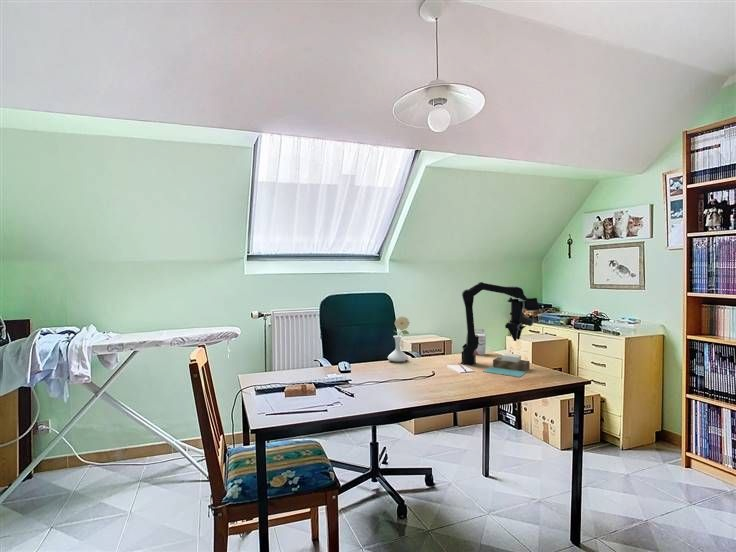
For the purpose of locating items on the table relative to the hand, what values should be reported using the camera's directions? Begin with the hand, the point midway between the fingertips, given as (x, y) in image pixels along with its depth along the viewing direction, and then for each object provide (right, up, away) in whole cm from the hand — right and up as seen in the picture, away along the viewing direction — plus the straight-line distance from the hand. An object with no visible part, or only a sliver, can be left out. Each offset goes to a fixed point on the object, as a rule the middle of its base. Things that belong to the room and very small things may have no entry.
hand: (516, 340), depth 226 cm
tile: (-5, -8, -6) cm, 12 cm away
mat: (-11, -14, -14) cm, 23 cm away
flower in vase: (-61, -14, +12) cm, 64 cm away
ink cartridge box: (-14, -13, +27) cm, 33 cm away
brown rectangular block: (-5, -13, -7) cm, 16 cm away
